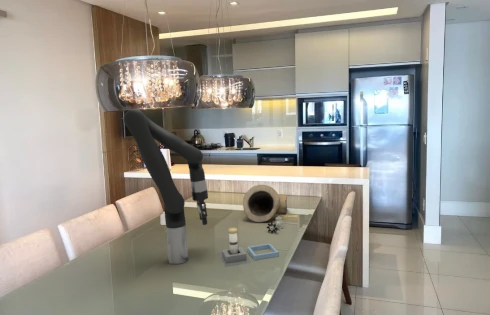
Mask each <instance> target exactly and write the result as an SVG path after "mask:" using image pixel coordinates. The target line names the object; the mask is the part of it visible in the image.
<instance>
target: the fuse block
mask: <svg viewBox="0 0 490 315" xmlns="http://www.w3.org/2000/svg"><path fill="white" fill-rule="evenodd" d="M218 256H219V257H220V259H221V262H222V263H223V265H224V266H225V267H224V268H226V267H233V266H239V265H240V266H241V265H245V264H251V263H252V262H251V260H250V259H249V257H248V256H247V252H245V250H244V249H243V247H242V246H238V254H231V255H230V248H225V249H222V250H221V252H220V253H218Z"/></svg>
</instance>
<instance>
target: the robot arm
mask: <svg viewBox="0 0 490 315" xmlns="http://www.w3.org/2000/svg"><path fill="white" fill-rule="evenodd" d="M123 122H124V124H125V126H126V128H128V131H129V132H130V133H131V136H132V137H133V139H134V141H135V142H136V145H137V149H138V151H139V155H140V157H141V159H142V161H143V164H144V166H145V168H146V170H147V172H148V174H149V175H150V177H151V179H152V181H153V182H154V183H155V186H156V187H157V188H158V191H159V193H160V195H161V198H162V202H163V208H164V220H165V228H166V229H165V230H166V244H167V256H168V257H167V259H168V263H169V264H173V265H174V264H175V265H179V264H183V263H185V262H188V260H189V253H188V252H189V251H188V250H189V249H188V238H187V237H188V236H187V222H186V216H185V204H186V203H185V199H184V196H183V195H182V194H181V193H180V191H179V189H178V188H177V187H176V184H175V181H174V180H173V177H172V174H171V171H170V168H169V165H168V163H167V160H166V158H165V156H164V154H163V152H162V150H161V148H160V147H159V144H161V145H162V146H163V147H165V148H167V149H168V150H169V151H172V152H174V153H175V154H177V155H179V156H181V157H182V158H183V159H185V160H186V161H187V162H186V163H187V166H188V170H189V172H188V173H189V179H190V190H191V198H192V201H194V202H196V208H197V212H198V215H199V220H200V221H202V222H201V223H202V225H203V226H206V225H208V218H207V217H208V212H207V211H208V210H207V203H206V201H205V200H207V199H208V198H209V192H208V187H207V186H208V185H207V180H206V175H205V169H204V168H203V158H204V155H203V152H202V151H201V150H200V149H199V148H197V147H195V146H193V145H191V144H189V143H188V142H186V141H185V140H184V139H183V138H181V137H180V136H178V135H176V134H174V133H172V132H171V131H170V130H167V129H166V128H163V127H162V126H160V125H158V124H157V123H156V122H153V121H152V120H151V119H150V118H149V117H147V115H145V113H144V112H143V111H142V110H141V109H138V108H131V109H129V110H127V111H126V112H125V114H124V116H123ZM156 141H157V142H158V143H159V144H158V143H157V142H156Z"/></svg>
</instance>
